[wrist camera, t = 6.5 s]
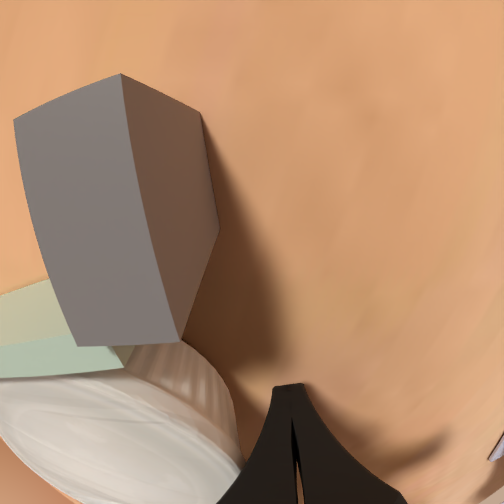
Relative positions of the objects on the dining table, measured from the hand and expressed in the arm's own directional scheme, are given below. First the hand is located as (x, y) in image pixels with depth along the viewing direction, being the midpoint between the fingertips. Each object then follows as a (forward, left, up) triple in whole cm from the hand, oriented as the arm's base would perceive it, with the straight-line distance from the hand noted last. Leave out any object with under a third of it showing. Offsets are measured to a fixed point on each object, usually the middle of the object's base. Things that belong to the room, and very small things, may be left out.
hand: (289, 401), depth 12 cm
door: (+10, -6, -1) cm, 12 cm away
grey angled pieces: (+3, +2, -1) cm, 3 cm away
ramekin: (+7, 0, -2) cm, 7 cm away
